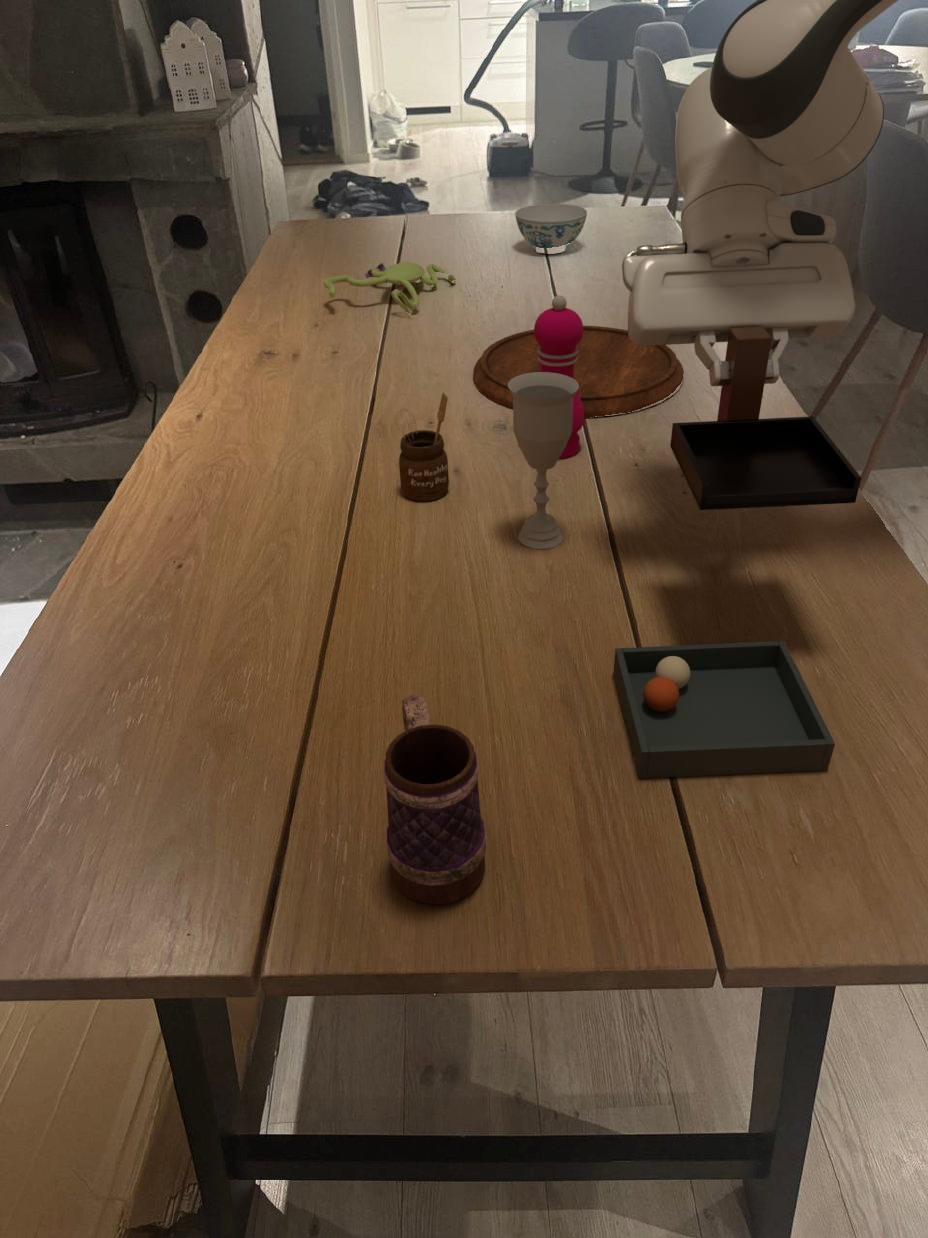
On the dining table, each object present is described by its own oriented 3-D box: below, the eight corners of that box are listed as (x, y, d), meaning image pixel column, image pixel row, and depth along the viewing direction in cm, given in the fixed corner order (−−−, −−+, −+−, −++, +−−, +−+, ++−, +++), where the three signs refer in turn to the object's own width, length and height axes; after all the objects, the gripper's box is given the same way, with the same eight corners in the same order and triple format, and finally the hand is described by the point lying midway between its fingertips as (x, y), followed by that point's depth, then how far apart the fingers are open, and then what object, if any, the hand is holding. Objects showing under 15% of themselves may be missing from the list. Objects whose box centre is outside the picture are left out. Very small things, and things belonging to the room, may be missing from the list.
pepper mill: (554, 466, 118) (558, 309, 106) (516, 448, 123) (516, 295, 111) (594, 449, 122) (602, 295, 110) (556, 431, 126) (560, 282, 114)
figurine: (314, 313, 170) (310, 282, 167) (380, 272, 190) (378, 243, 186) (404, 324, 164) (402, 292, 160) (463, 280, 183) (462, 250, 180)
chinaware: (550, 237, 207) (551, 200, 202) (600, 249, 198) (602, 210, 193) (500, 250, 200) (500, 212, 195) (549, 264, 190) (550, 224, 186)
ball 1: (659, 695, 83) (650, 682, 81) (661, 665, 84) (652, 651, 82) (693, 694, 81) (684, 681, 79) (694, 663, 83) (686, 649, 80)
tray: (778, 666, 85) (784, 640, 83) (827, 770, 74) (835, 743, 73) (613, 673, 85) (615, 648, 83) (638, 779, 74) (641, 752, 73)
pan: (798, 426, 89) (818, 323, 83) (855, 503, 77) (883, 389, 71) (663, 432, 89) (673, 330, 83) (699, 510, 77) (714, 397, 71)
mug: (496, 898, 66) (493, 779, 58) (396, 917, 65) (381, 798, 57) (468, 793, 74) (462, 678, 67) (379, 808, 73) (364, 692, 66)
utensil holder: (394, 485, 116) (386, 394, 108) (442, 475, 117) (437, 385, 110) (409, 506, 111) (402, 413, 104) (458, 496, 113) (454, 403, 106)
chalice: (582, 530, 105) (590, 379, 95) (556, 559, 101) (561, 403, 90) (525, 515, 108) (526, 367, 98) (497, 543, 104) (495, 390, 93)
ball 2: (668, 714, 81) (660, 681, 82) (689, 705, 78) (681, 671, 79) (640, 716, 80) (633, 683, 80) (662, 707, 77) (653, 673, 78)
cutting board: (446, 406, 134) (445, 390, 133) (504, 332, 159) (503, 317, 157) (669, 427, 126) (670, 410, 125) (694, 345, 150) (695, 330, 149)
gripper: (626, 227, 83) (637, 373, 81) (853, 217, 83) (870, 363, 81) (615, 264, 89) (625, 401, 87) (826, 255, 89) (841, 391, 87)
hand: (745, 382), depth 84 cm, fingers closed on pan, 3 cm apart
